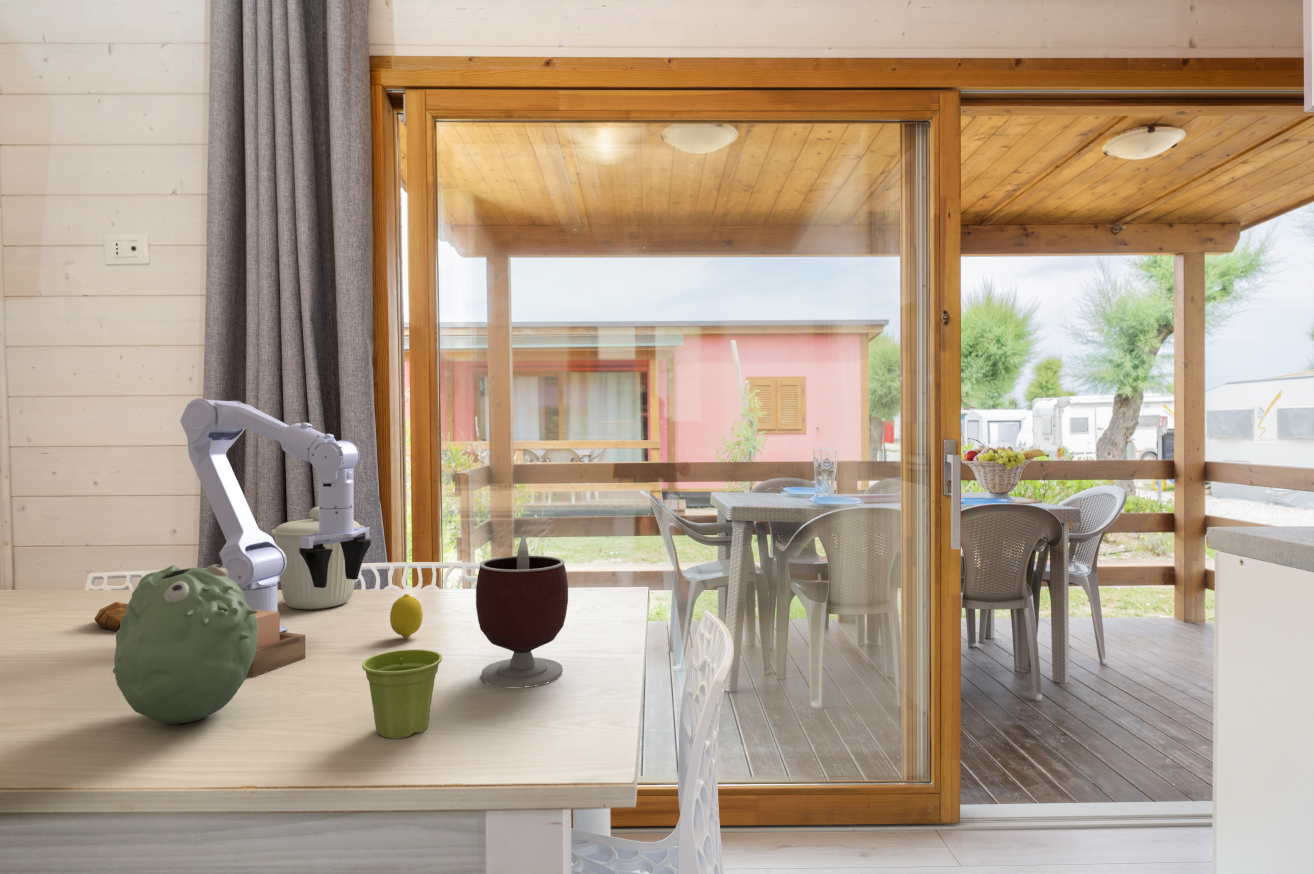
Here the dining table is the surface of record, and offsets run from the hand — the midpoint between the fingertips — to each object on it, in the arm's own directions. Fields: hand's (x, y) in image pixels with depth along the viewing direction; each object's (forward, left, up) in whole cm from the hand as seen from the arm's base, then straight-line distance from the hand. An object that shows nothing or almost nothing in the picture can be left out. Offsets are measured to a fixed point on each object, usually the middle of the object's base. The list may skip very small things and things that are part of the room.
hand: (336, 582), depth 130 cm
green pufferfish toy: (+10, -36, -10) cm, 39 cm away
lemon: (+12, +4, -10) cm, 16 cm away
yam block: (-1, -16, -7) cm, 17 cm away
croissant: (-45, -8, -10) cm, 47 cm away
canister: (-23, +19, -10) cm, 32 cm away
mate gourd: (+41, -5, -10) cm, 43 cm away
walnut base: (-1, -16, -10) cm, 19 cm away
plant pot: (+38, -29, -10) cm, 49 cm away
